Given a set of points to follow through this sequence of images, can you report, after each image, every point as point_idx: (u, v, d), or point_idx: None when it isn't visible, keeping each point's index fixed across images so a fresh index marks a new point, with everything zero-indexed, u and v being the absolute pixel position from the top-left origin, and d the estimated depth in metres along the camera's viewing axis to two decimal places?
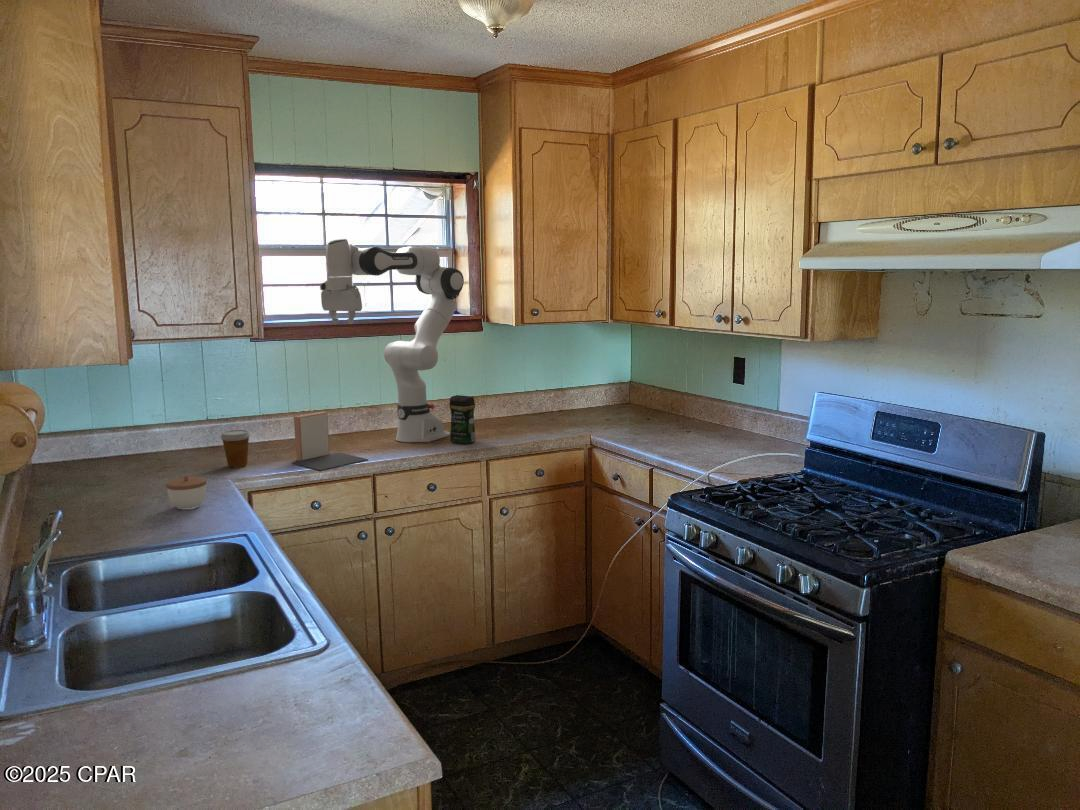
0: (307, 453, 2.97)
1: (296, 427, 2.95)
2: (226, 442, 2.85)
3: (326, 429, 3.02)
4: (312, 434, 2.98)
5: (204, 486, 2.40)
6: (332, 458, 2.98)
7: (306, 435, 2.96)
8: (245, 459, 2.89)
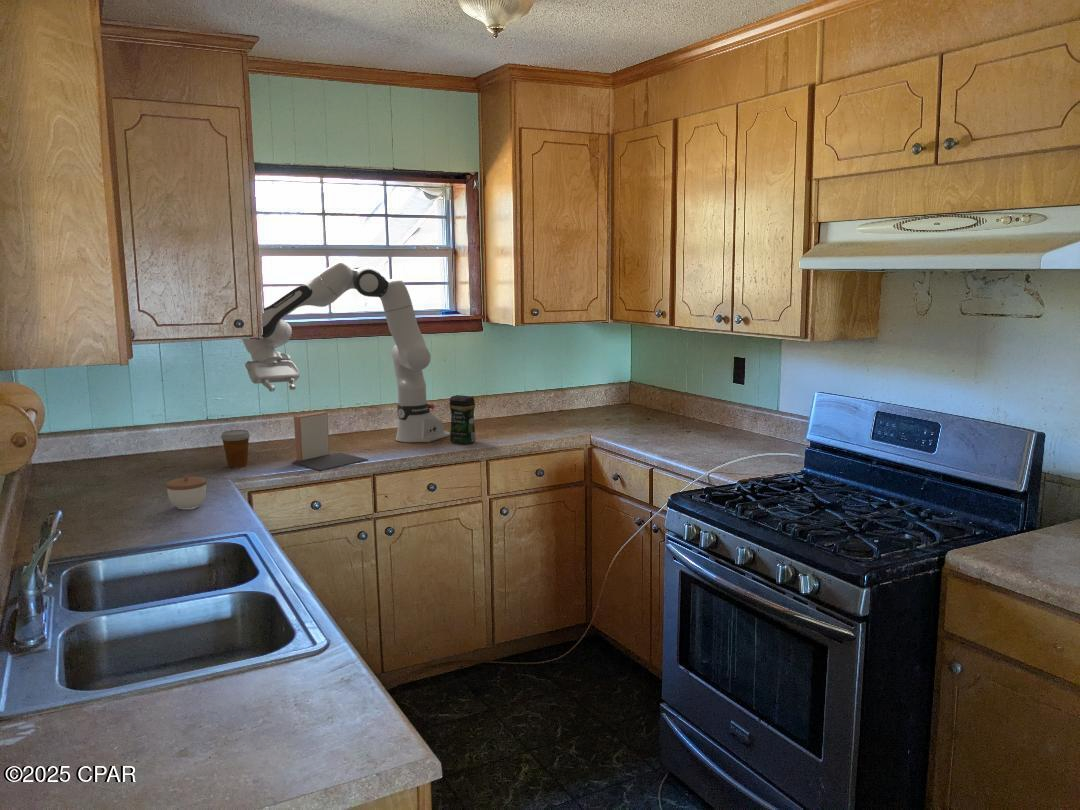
0: (307, 453, 2.97)
1: (296, 427, 2.95)
2: (226, 442, 2.85)
3: (326, 429, 3.02)
4: (312, 434, 2.98)
5: (204, 486, 2.40)
6: (332, 458, 2.98)
7: (306, 435, 2.96)
8: (245, 459, 2.89)
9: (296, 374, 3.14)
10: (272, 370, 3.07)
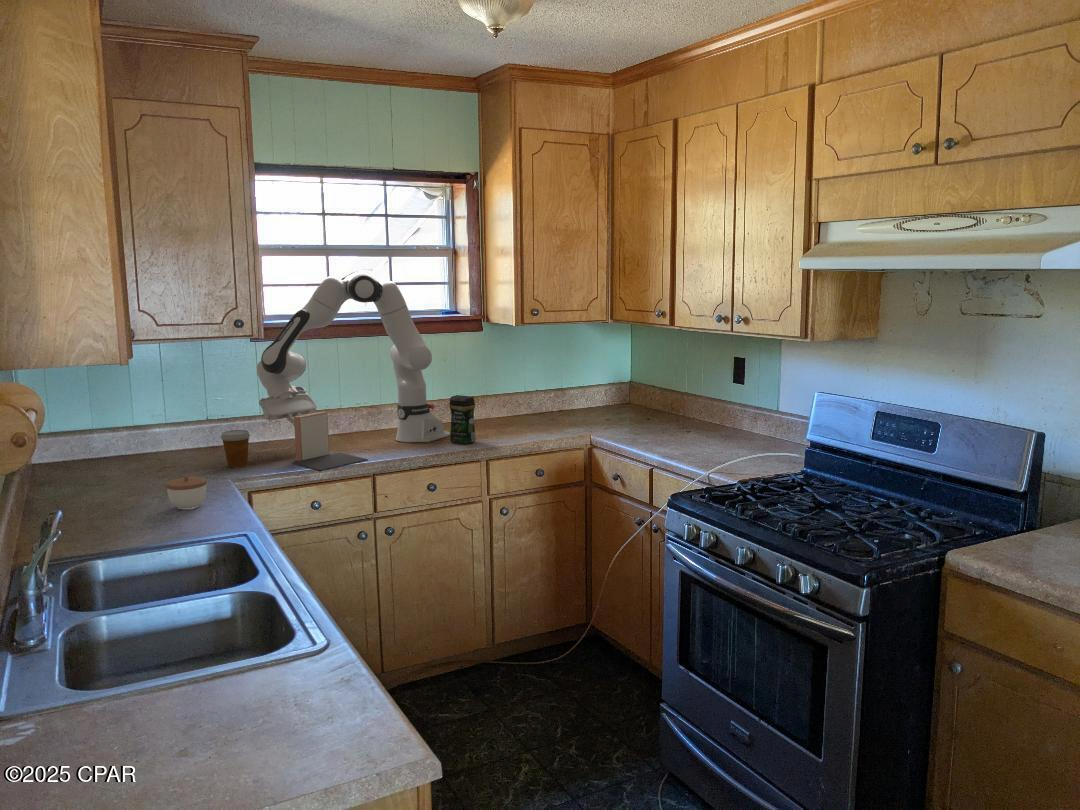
0: (307, 453, 2.97)
1: (296, 427, 2.95)
2: (226, 442, 2.85)
3: (326, 429, 3.02)
4: (312, 434, 2.98)
5: (204, 486, 2.40)
6: (332, 458, 2.98)
7: (306, 435, 2.96)
8: (245, 459, 2.89)
9: (312, 407, 3.12)
10: (287, 405, 3.05)
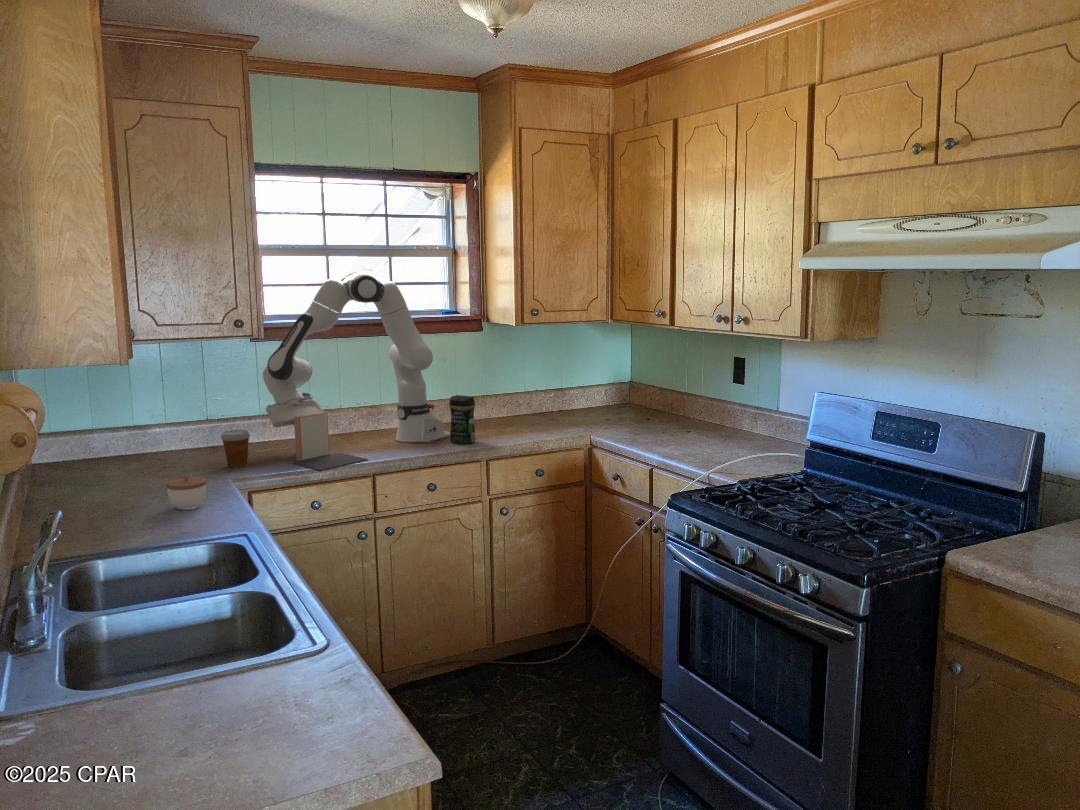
0: (307, 453, 2.97)
1: (296, 427, 2.95)
2: (226, 442, 2.85)
3: (326, 429, 3.02)
4: (312, 434, 2.98)
5: (204, 486, 2.40)
6: (332, 458, 2.98)
7: (306, 435, 2.96)
8: (245, 459, 2.89)
9: None
10: (293, 412, 3.03)
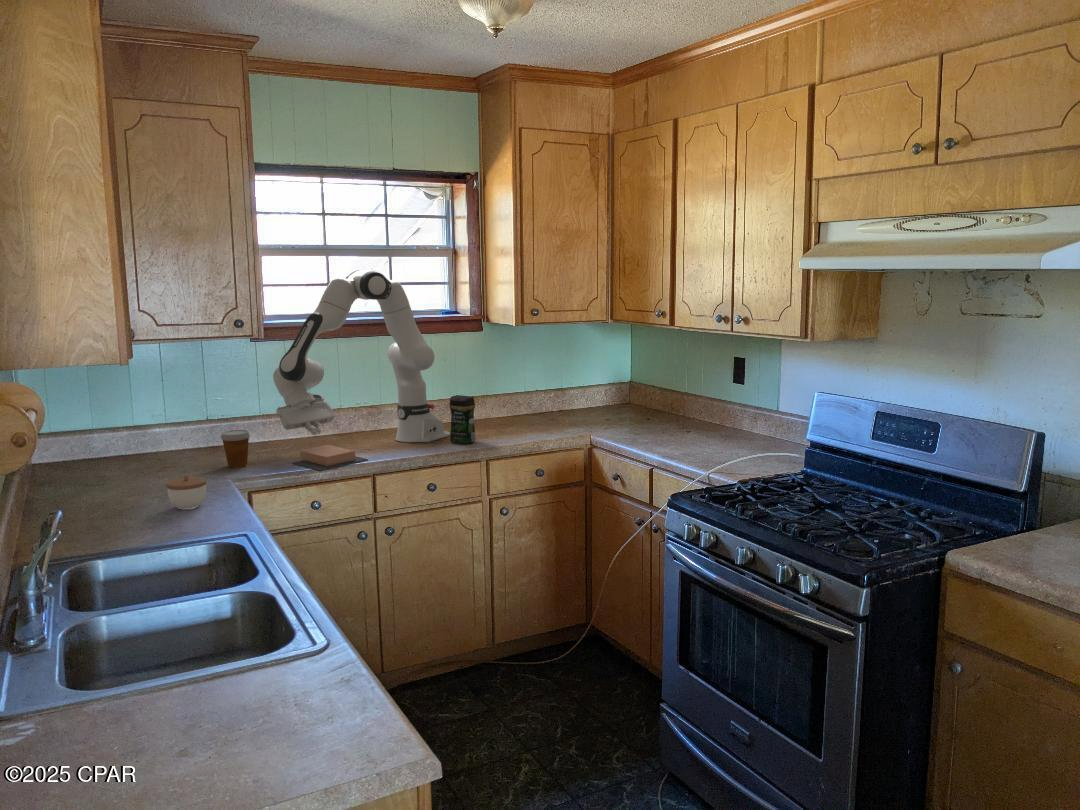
0: None
1: (319, 459, 2.88)
2: (226, 442, 2.85)
3: None
4: None
5: (204, 486, 2.40)
6: None
7: None
8: (245, 459, 2.89)
9: (330, 415, 3.05)
10: (304, 414, 2.98)
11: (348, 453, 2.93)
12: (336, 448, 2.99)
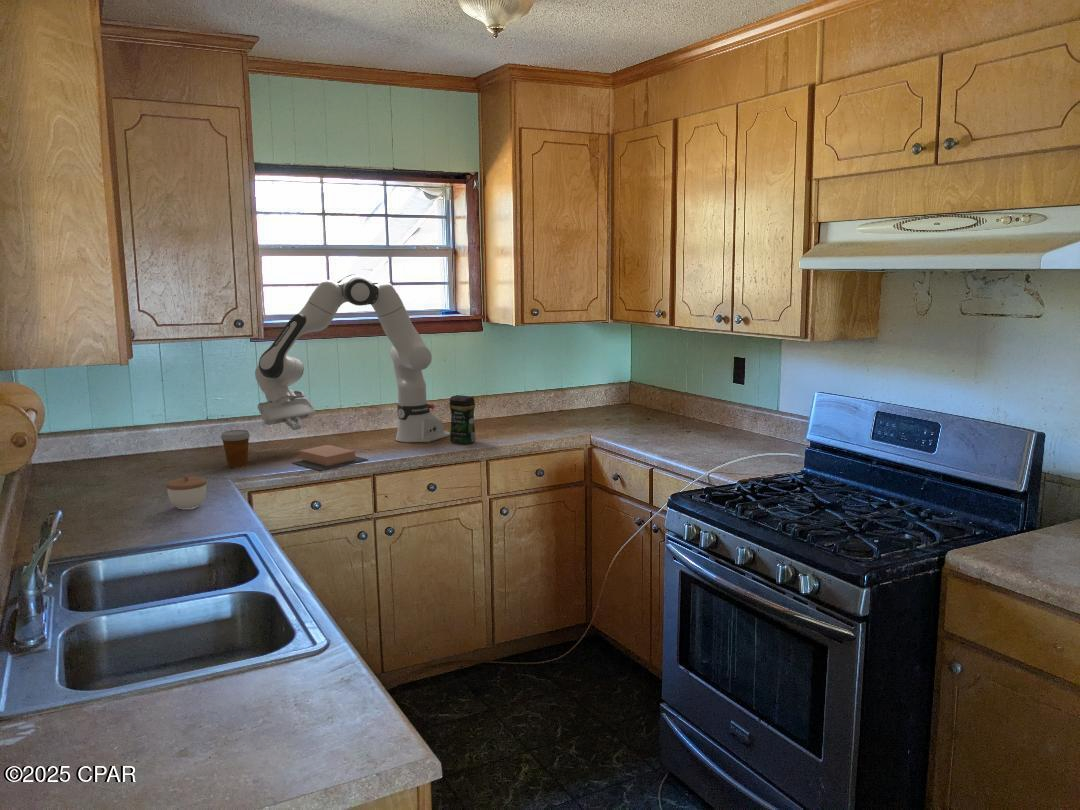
0: None
1: (319, 459, 2.88)
2: (226, 442, 2.85)
3: None
4: None
5: (204, 486, 2.40)
6: None
7: None
8: (245, 459, 2.89)
9: (311, 411, 3.13)
10: (285, 409, 3.06)
11: (348, 453, 2.93)
12: (336, 448, 2.99)
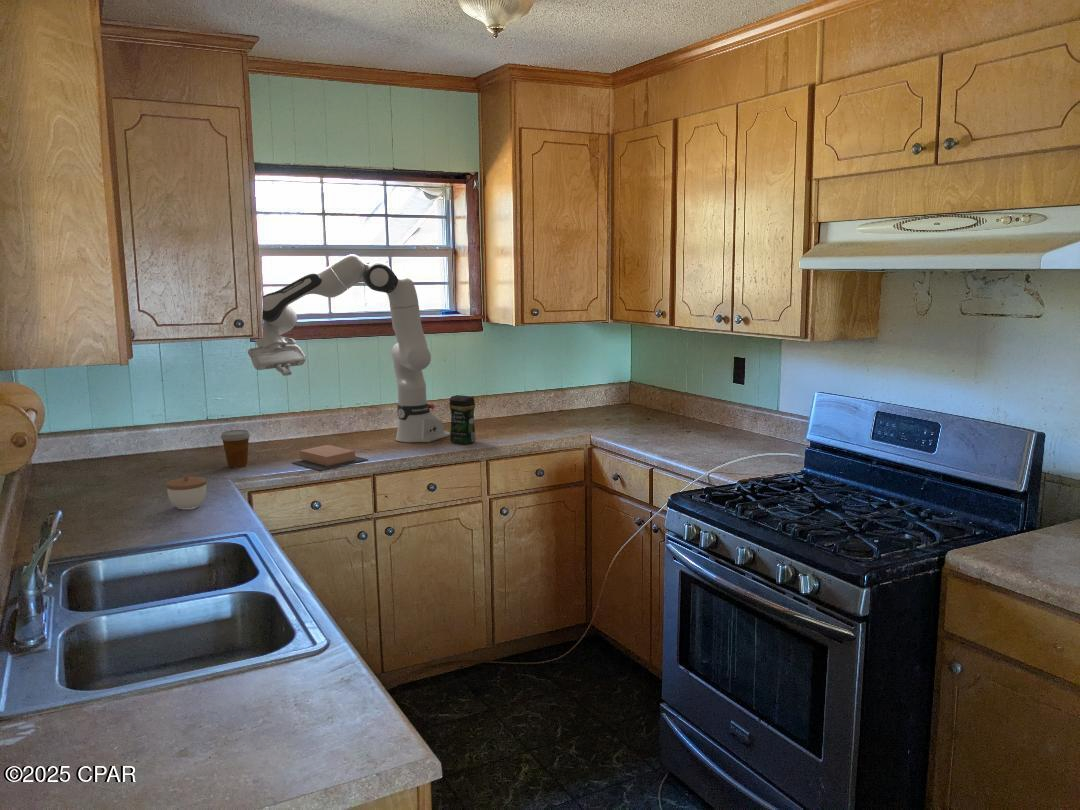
0: None
1: (319, 459, 2.88)
2: (226, 442, 2.85)
3: None
4: None
5: (204, 486, 2.40)
6: None
7: None
8: (245, 459, 2.89)
9: (301, 358, 3.12)
10: (276, 355, 3.05)
11: (348, 453, 2.93)
12: (336, 448, 2.99)
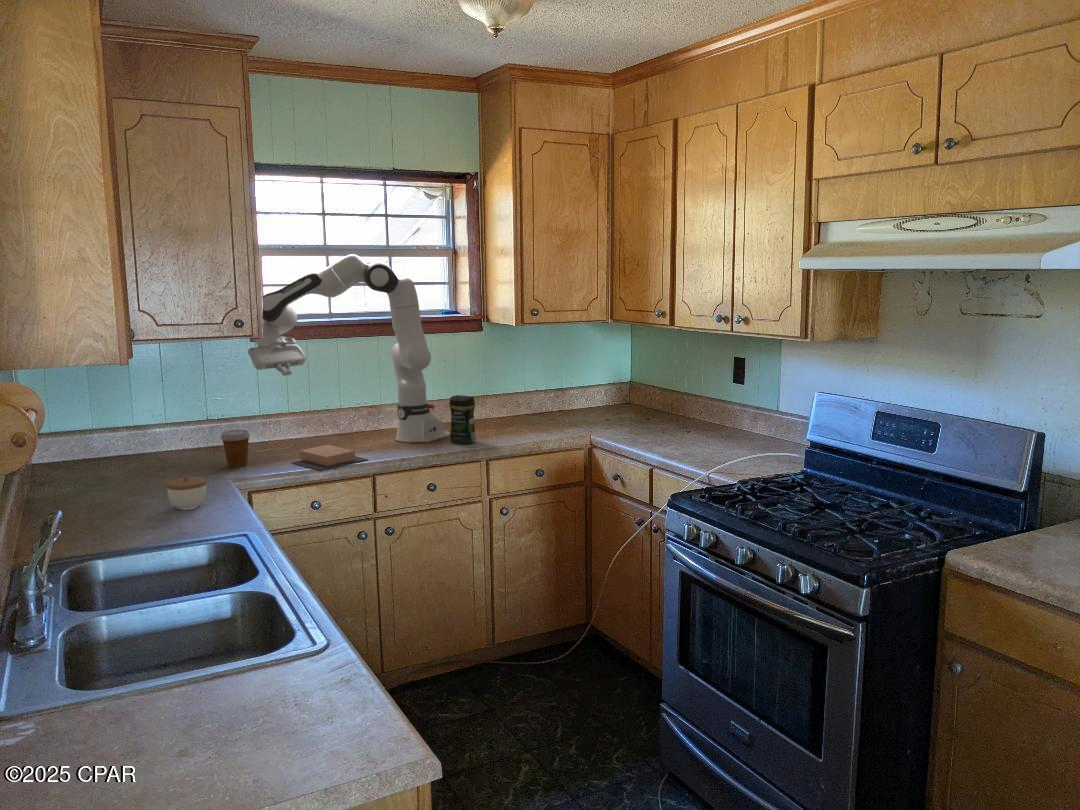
0: None
1: (319, 459, 2.88)
2: (226, 442, 2.85)
3: None
4: None
5: (204, 486, 2.40)
6: None
7: None
8: (245, 459, 2.89)
9: (301, 358, 3.12)
10: (276, 355, 3.05)
11: (348, 453, 2.93)
12: (336, 448, 2.99)
